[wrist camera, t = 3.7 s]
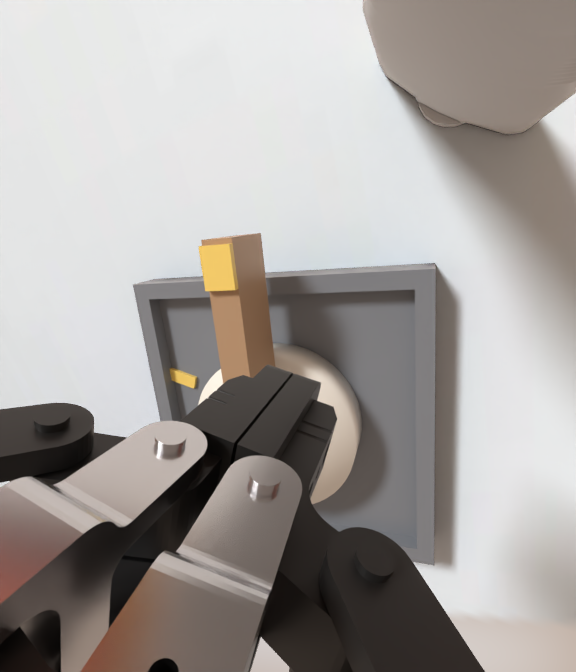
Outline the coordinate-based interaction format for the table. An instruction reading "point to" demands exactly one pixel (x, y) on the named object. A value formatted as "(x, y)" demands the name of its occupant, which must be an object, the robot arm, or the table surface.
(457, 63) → the tall pale column
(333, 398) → the dial
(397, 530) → the plate
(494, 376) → the table surface
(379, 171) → the table surface
